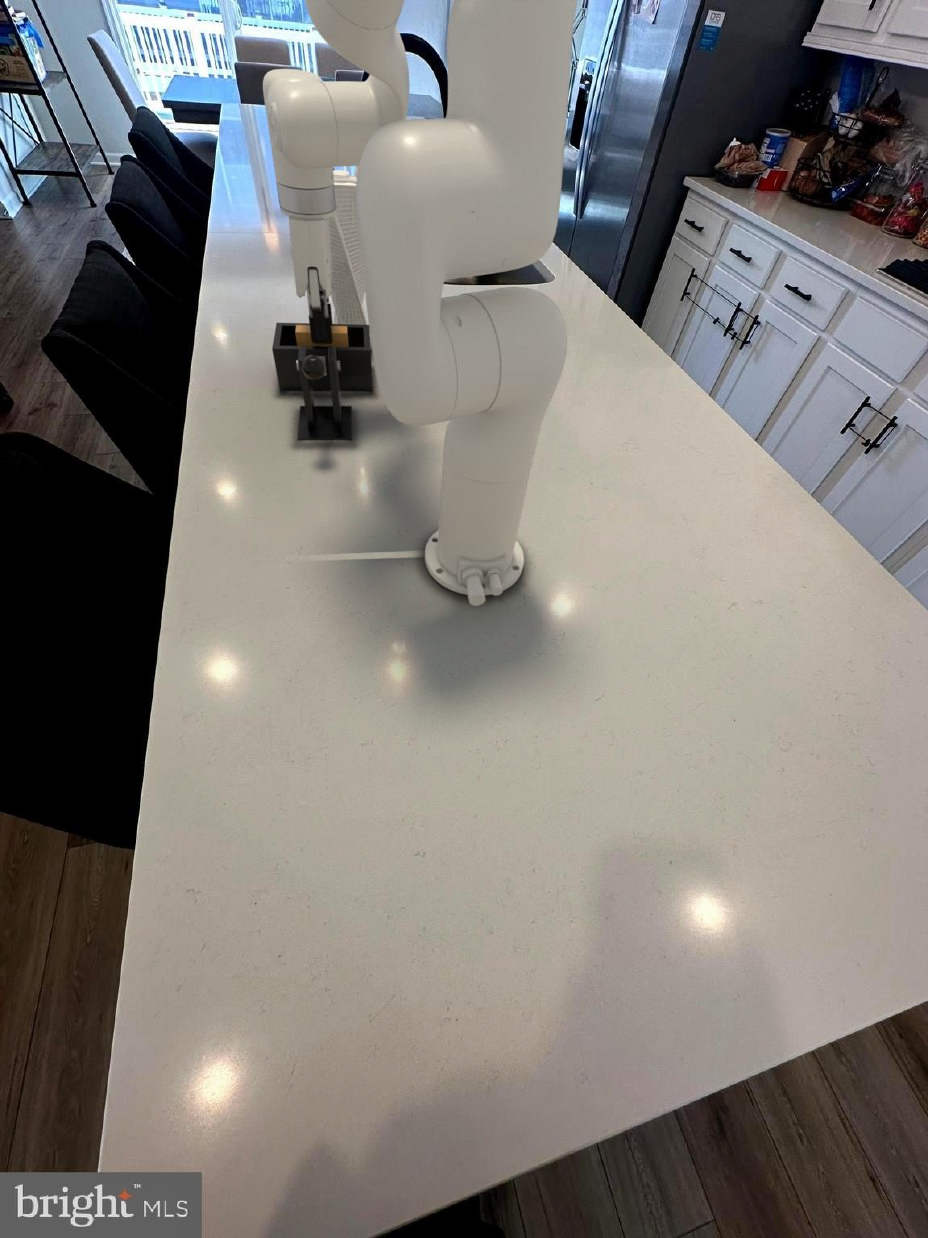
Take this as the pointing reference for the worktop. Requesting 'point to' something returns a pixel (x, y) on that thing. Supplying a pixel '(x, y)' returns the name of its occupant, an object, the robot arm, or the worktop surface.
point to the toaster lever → (315, 367)
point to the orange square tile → (338, 341)
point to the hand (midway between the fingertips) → (322, 334)
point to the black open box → (351, 359)
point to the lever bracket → (323, 418)
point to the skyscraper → (346, 253)
